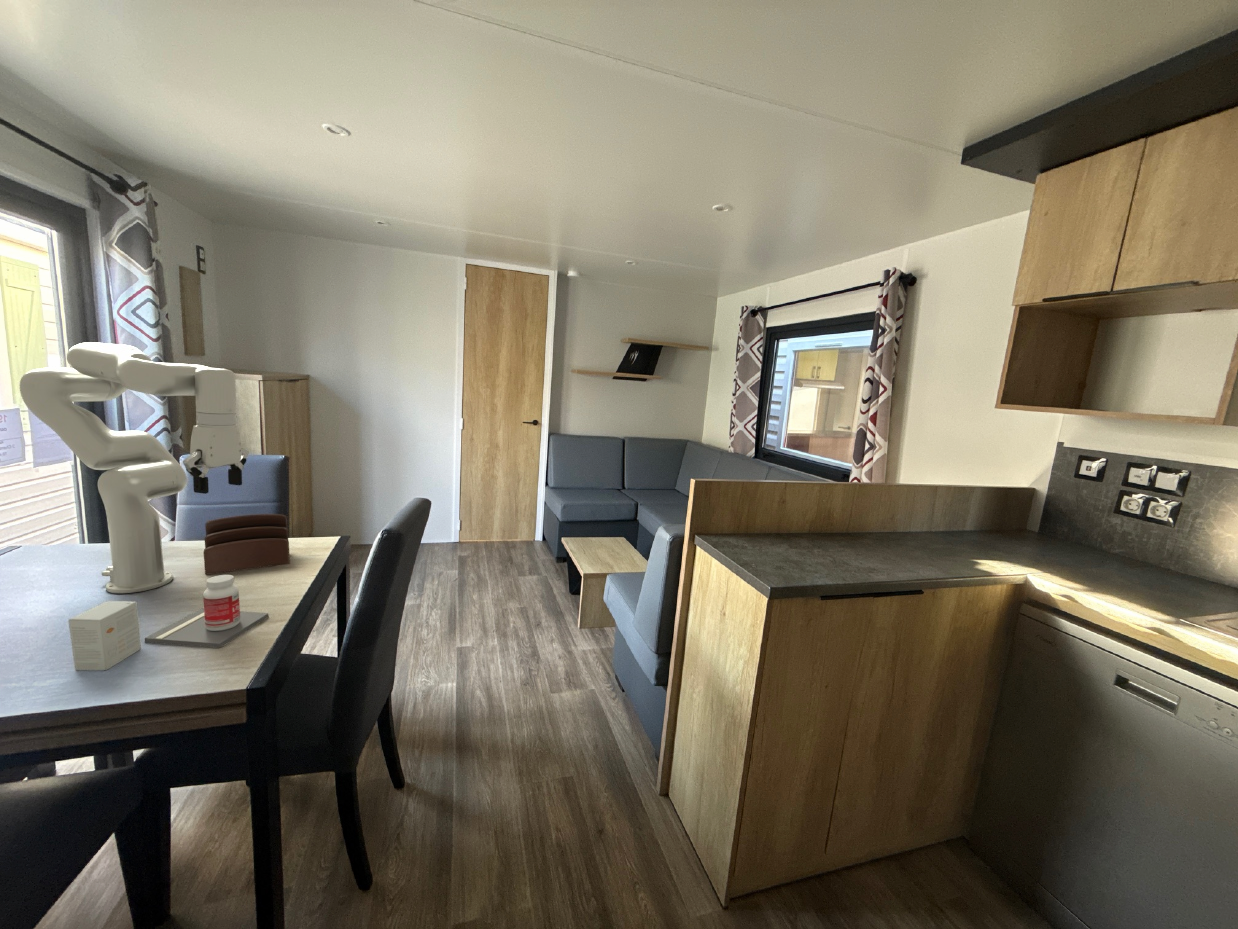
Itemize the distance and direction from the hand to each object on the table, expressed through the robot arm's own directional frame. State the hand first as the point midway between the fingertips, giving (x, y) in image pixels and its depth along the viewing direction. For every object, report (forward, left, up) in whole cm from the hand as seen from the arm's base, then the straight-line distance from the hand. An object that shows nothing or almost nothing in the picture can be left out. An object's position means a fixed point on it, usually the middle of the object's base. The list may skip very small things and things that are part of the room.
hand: (218, 488), depth 122 cm
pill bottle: (+13, -16, -27) cm, 34 cm away
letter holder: (-10, +21, -28) cm, 37 cm away
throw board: (+10, -16, -28) cm, 34 cm away
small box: (+1, -30, -28) cm, 41 cm away
